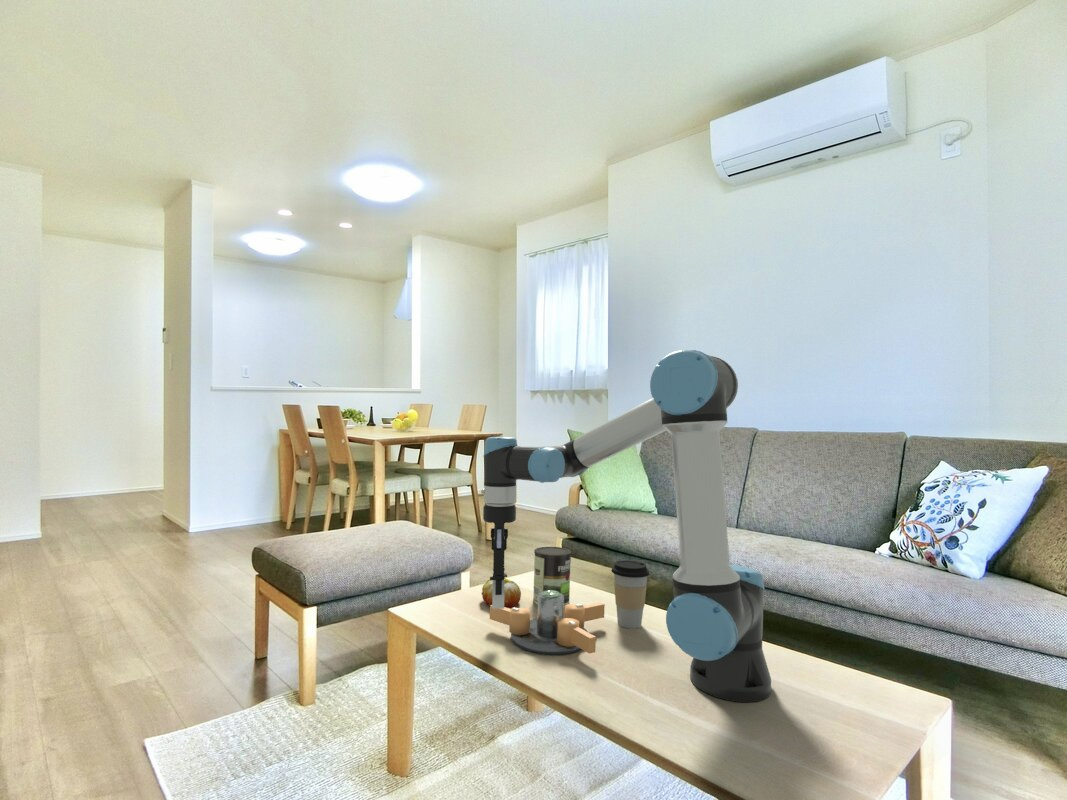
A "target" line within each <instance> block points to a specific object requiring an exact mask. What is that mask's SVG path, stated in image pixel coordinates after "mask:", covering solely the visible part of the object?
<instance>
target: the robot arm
mask: <svg viewBox="0 0 1067 800" xmlns="http://www.w3.org/2000/svg"><path fill="white" fill-rule="evenodd" d="M649 388H650V394H651V397H652V398H650V399H648V400H646V401H644V402H642V403H640V404H638V405H637V406H634V407H633V408H630V409H629V410H628V411H626V412H624V413H621V414H619V415H618V416H616V417H614V418H612V419H610V420H608V421H606V422H604V423H602V424H601V425H599V426H597V427H595V428H593V429H591V430H589V431H587V432H586V433H583V434H581V435H579V436H577V437H576V438H574V439H572V440H570V441H568V442H567V443H564V444H562V445H551V446H518V440H517V438H516V437H514V436H513V437H512V436H490V437H487V438H486V439H485V441H484V451H483V473H484V474H483V476H484V477H483V489H482V488H481V490H480V493H481V494H484V495H483V502H484V503H485V504H484V505H483V509H482V510H483V513H482V515H483V517H482V518H483V521H484V522H486V523H487V524H488V523H489V524H491V523H492V524H494V528H493V527H492V528H490V539H491V550H492V551H493V559H492V560H493V567H492V571H493V572H492V576H490V577H489V580H493V597H492V609H504V588H505V578H507V577H508V573H505V570H506V569H505V551H506V550H507V549H508V547H507V543H508V541H507V539H508V538H509V528H506V527H505V524H506V523H507V524H509V523H514V522H515V521H516V520H517V506H516V504H515V503H516V502H517V480H518V481H519V480H522V481H531V482H538V483H541V484H542V483H543V484H544V483H556V482H558V481H559V480H560V478H561V479H562V478H574V477H575V478H576V477H577V476H580V475H583V474H584V473H585V472H586V471H588V469H589V468H591V467H593V466H595V465H597V464H599V463H601V462H603V461H606V460H607V459H609V458H611V457H614V456H616V455H618V454H621V453H622V452H624V451H626V450H629V449H631V448H632V447H635V446H637V445H638V444H641V443H643V442H645V441H647V440H649V439H651V438H652V439H653V437H656V436H658V435H660V434H662V433H664V432H666V431H667V432H668V433H669V435H670V436H671V449H672V465H673V467H672V468H673V479H674V480H673V481H674V494H675V506H676V507H675V509H676V519H677V520H676V521H677V522H676V524H677V533H678V535H677V536H678V537H677V538H678V551H679V567H678V568H677V569H676V570H675V572H674V573H673V574H672V588H673V599H672V600H671V602H669V605H668V607H667V610H666V613H665V620H666V621H665V622H666V623H665V624H666V628H667V631H668V634H669V636H670V637H671V640H672V641H673V643H675V645H677V646H678V647H679V649H680V650H681V651H682V652H683V653H685V654H686V655H688V656H689V657H692V660H691V663H690V668H689V669H690V670H689V672H690V674H689V678H690V681H691V682H692V684H693V685H694V686H695V687H696V688H698V689H699V690H701V691H702V692H704V693H705V694H708V695H709V696H712V697H716V698H718V699H723V700H727V701H730V702H731V701H732V702H740V703H755V702H760V701H763V700H765V699H767V698H768V697H770V695H771V693H772V677H771V673H770V671H769V667H768V664H767V663H768V662H767V659H766V657H765V654H764V650H763V629H764V627H763V626H764V623H763V622H764V591H765V584H764V577H763V574H762V573H761V572H760V571H759V570H756V569H755V568H750V567H746V566H743V565H737V564H732V563H730V551H729V550H730V549H729V539H728V525H727V514H726V513H727V512H726V498H725V488H724V487H725V486H724V473H723V461H722V460H723V459H722V448H721V435H720V433H721V431H722V429H724V427H725V426H726V425H727V424H728V411H727V409H728V408H729V407H730V406H731V404H732V403H733V402H734V401H735V399H736V397H737V394H738V389H739V381H738V377H737V374H736V372H735V370H734V369H733V368H732V366H731V365H730V364H729V363H728V362H727V361H725V360H724V359H722V358H721V357H717V356H713V355H709V354H706V353H705V352H702V351H700V350H696V349H693V350H687V349H681V350H676V351H673V352H671V353H669V354H666V355H665V356H664V357H662V359H661V360H660V361H659V362H658V363H657V364H656V365H655V367H654V369H653V371H652V373H651V376H650V381H649Z"/></svg>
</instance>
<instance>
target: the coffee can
mask: <svg viewBox="0 0 1067 800" xmlns="http://www.w3.org/2000/svg"><path fill="white" fill-rule="evenodd" d="M571 555H572V551H571V550H570V549H568V548H565V547H560V546H542V547H541V546H540V547H537V548H535V549H534V564H533V565H534V566H533V568H534V569H533V573H534V574H533V598H532V601H533V603H534V604H536V605H537V606H538V594H539V593H541V592H543V591H547V590H553V591H557V592H559V593H561V594H563V595H564V607H565V605H568V604H571V601H570V595H571V594H570V593H571V592H570V590H571V587H570V586H571V584H570V583H571V563H572V562H571V561H572V560H571V558H572V557H571Z"/></svg>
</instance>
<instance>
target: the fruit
mask: <svg viewBox="0 0 1067 800" xmlns="http://www.w3.org/2000/svg"><path fill="white" fill-rule="evenodd" d="M481 597H482V600H483V602H484V603H485V604H486V605H488V606H489V607H490V605H492V597H493V580H490V579H489V580H487V581H486V582H485V583H483V586H482V589H481ZM521 597H522V590H521V588H520V586H519V585H518V584H517V582H515V581H513V580H510V579H508V578H507V577H505V588H504V607H506V608H509V609H512V608H513V607H515V608H517V606H519V603H520V601H521Z"/></svg>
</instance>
